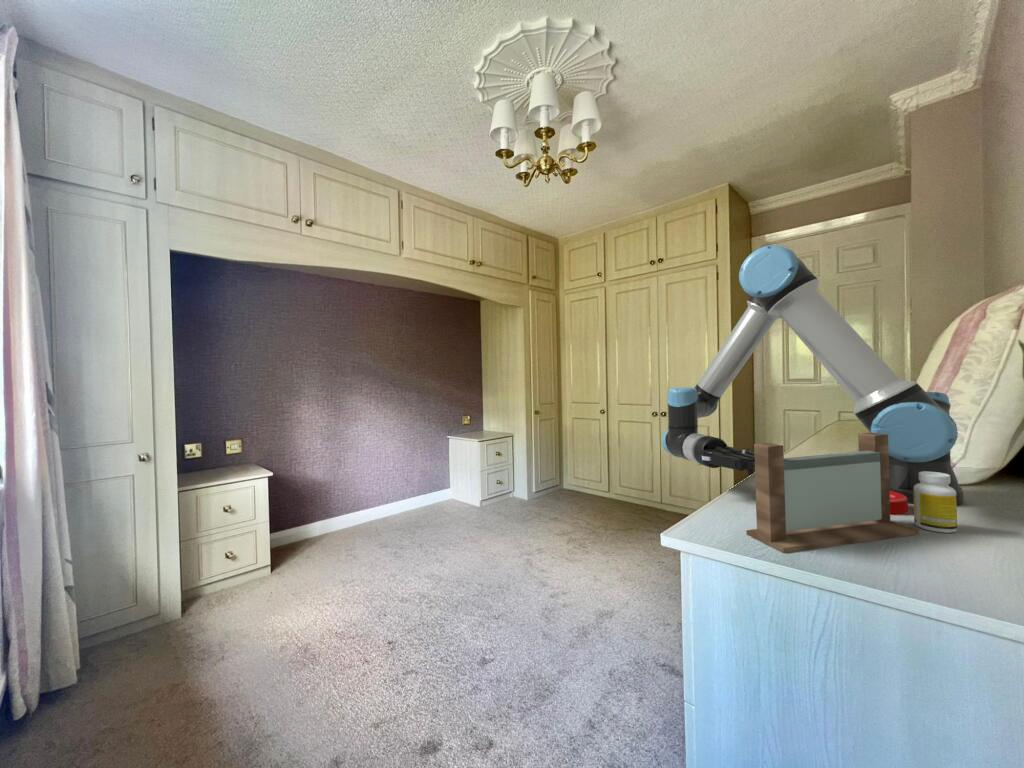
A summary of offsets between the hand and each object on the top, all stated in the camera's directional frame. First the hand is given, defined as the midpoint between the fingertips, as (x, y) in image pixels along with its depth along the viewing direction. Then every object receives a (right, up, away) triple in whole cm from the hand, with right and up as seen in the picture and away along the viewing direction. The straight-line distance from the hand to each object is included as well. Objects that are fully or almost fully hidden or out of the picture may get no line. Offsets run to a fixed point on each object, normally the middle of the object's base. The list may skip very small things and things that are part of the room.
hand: (783, 471), depth 81 cm
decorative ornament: (+22, -9, +5) cm, 25 cm away
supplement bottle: (+23, -9, -7) cm, 25 cm away
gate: (+3, -7, -8) cm, 11 cm away
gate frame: (+3, -9, -8) cm, 13 cm away
